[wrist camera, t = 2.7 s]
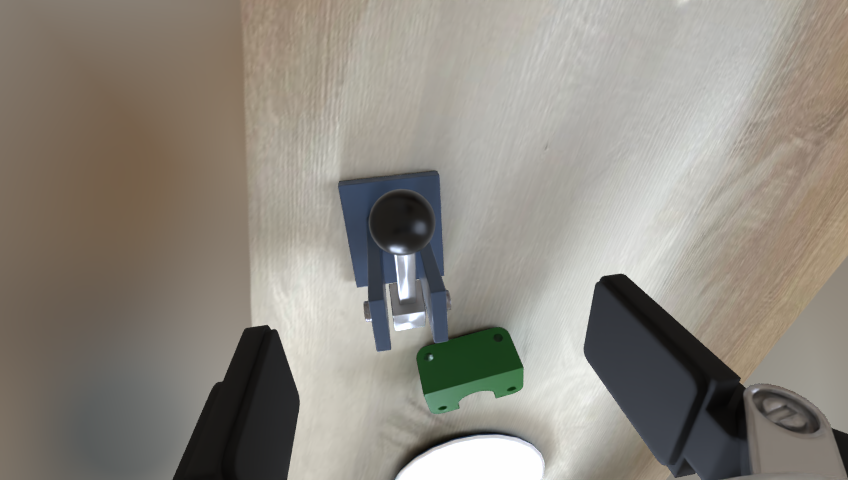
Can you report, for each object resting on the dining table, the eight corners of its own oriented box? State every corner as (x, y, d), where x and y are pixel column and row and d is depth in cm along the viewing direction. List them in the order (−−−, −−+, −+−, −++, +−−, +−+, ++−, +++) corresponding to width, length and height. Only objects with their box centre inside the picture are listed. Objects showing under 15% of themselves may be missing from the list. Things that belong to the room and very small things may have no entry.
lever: (362, 178, 17) (367, 235, 16) (430, 171, 18) (442, 226, 16) (384, 296, 28) (388, 337, 27) (425, 290, 29) (433, 330, 27)
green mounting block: (432, 345, 51) (418, 413, 45) (424, 320, 47) (408, 392, 41) (523, 354, 48) (521, 429, 42) (524, 329, 43) (522, 408, 37)
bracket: (338, 181, 34) (325, 261, 22) (437, 170, 35) (476, 242, 23) (357, 281, 39) (354, 389, 27) (441, 269, 40) (476, 370, 28)
